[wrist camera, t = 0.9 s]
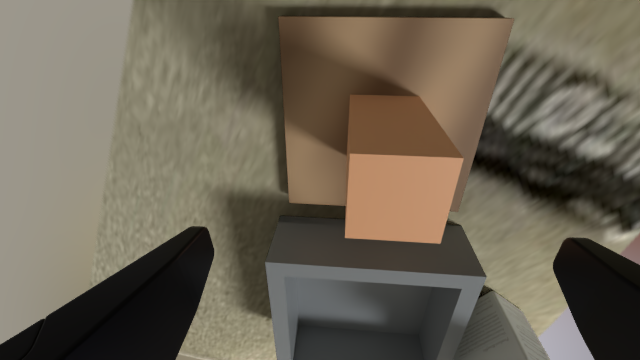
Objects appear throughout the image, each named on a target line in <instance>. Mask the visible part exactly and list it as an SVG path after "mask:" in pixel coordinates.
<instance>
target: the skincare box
mask: <svg viewBox="0 0 640 360" xmlns="http://www.w3.org/2000/svg"><path fill="white" fill-rule="evenodd" d="M453 360H550V358H549V357H548V355H547V353H546V351H545V350H544V348H543V346H542V344H541V343H540V341H539V339H538V337H537V336H536V334H535V332H534V330H533V329H532V327H531V325H530V323H529V322H528V320H527V318H526V316H525V314H524V313H523V312H522V311H521V310H520V309H519V308H517V307H516V306H515V305H513V304H512V303H510V302H509V301H507V300H506V299H505V298H503V297H502V296H500V295H499V294H497V293H496V292H494V291H491V292H489V293H487V294H485V295H484V296H482V297H480V298H479V299H478V300H477V302H476V304H475V307H474V309H473V312H472V314H471V317H470V319H469V322H468V324H467V327H466V329H465V332H464V334H463V336H462V339H461V341H460V344H459V346H458V349H457V351H456V354H455V356H454V359H453Z"/></svg>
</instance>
